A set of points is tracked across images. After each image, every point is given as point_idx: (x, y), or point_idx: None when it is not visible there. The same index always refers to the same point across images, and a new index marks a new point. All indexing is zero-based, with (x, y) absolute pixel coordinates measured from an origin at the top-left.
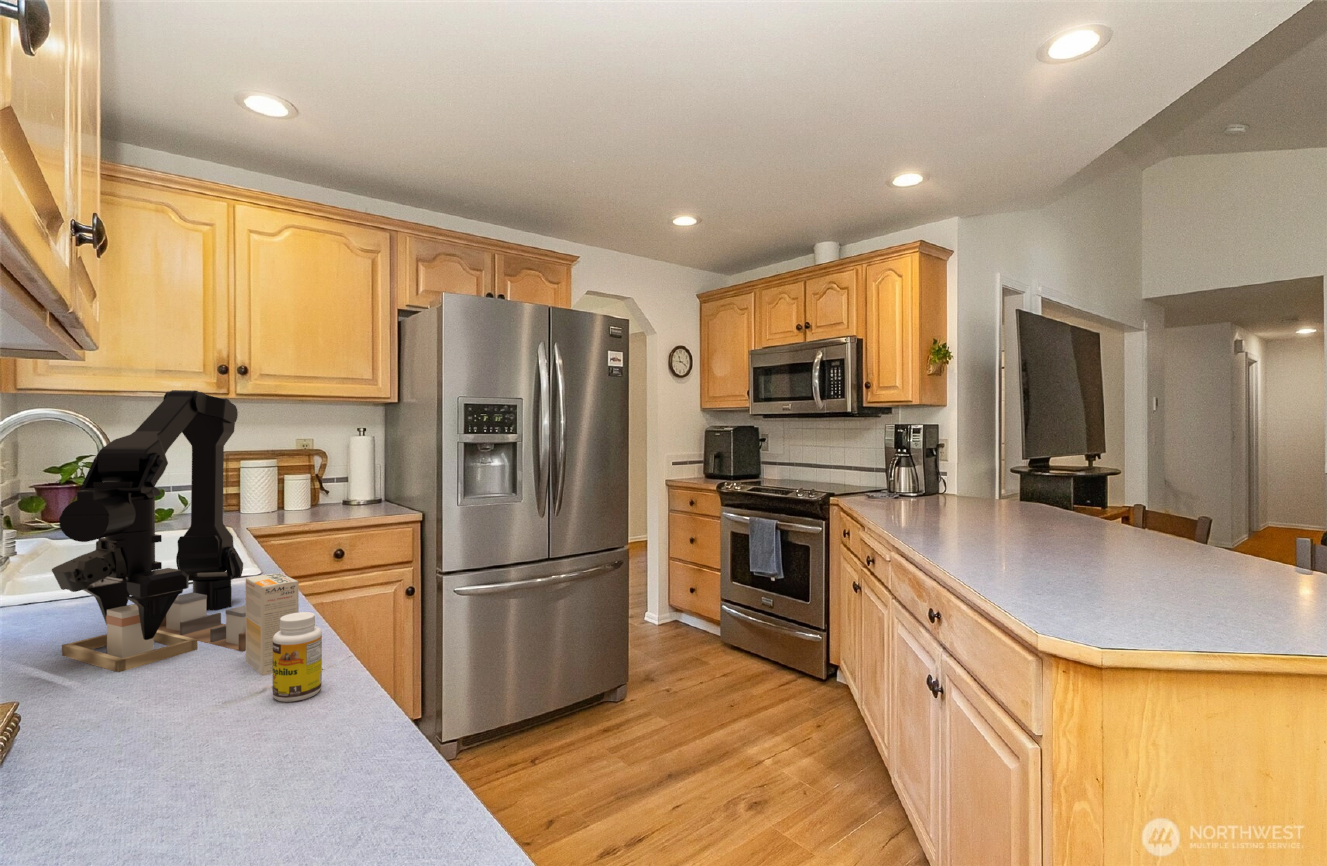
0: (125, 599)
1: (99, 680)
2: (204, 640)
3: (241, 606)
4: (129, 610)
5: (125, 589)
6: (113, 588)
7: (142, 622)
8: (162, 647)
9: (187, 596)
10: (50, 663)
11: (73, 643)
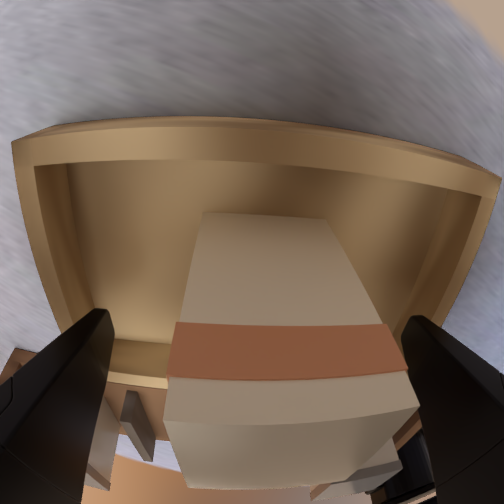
0: (437, 461)
1: (101, 82)
2: (164, 394)
3: (96, 482)
4: (206, 452)
5: (454, 500)
6: (494, 495)
7: (35, 365)
8: (65, 305)
9: (352, 488)
10: (478, 138)
11: (481, 204)
